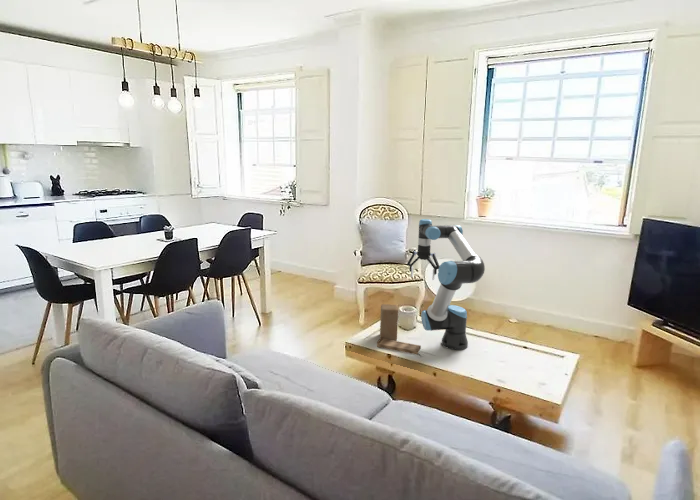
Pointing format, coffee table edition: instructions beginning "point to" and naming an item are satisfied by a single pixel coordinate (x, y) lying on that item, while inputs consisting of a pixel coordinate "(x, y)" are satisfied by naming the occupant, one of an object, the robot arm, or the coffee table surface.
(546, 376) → the coffee table surface
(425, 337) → the coffee table surface
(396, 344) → the plank
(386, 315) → the wooden block
